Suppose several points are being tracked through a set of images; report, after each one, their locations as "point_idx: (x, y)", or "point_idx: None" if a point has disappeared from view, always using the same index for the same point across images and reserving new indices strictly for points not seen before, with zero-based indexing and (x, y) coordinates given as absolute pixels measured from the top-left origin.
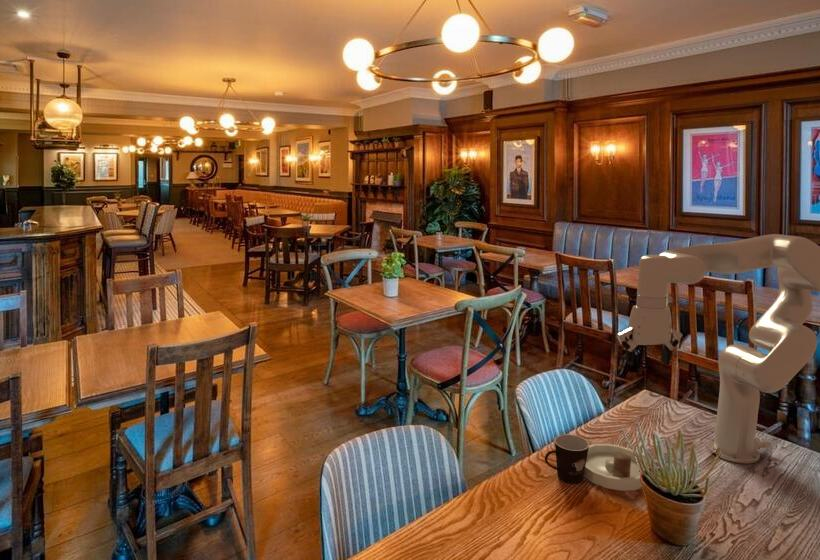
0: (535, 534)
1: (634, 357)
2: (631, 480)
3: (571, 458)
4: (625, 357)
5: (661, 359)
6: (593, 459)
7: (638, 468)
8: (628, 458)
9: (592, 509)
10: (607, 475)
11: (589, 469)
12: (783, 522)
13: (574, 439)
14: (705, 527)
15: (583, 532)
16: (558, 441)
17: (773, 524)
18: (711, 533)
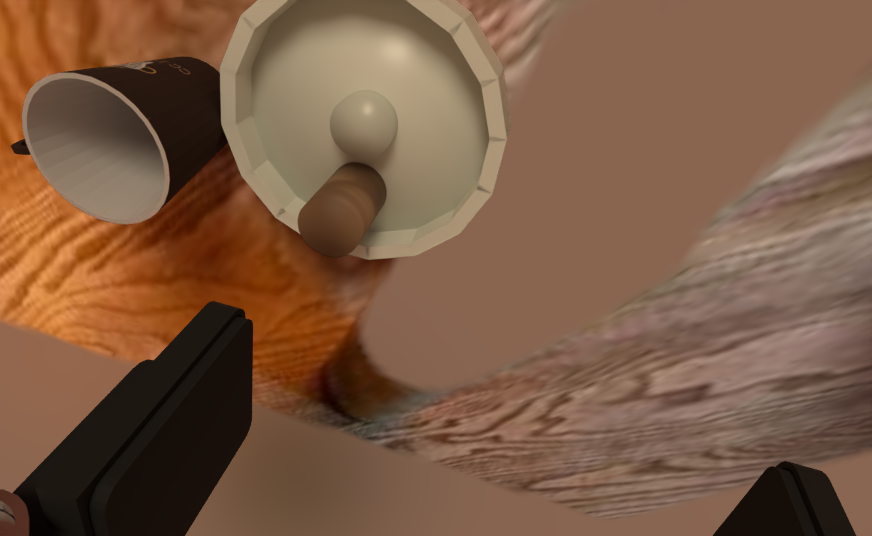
0: (50, 291)
1: (187, 530)
2: (353, 253)
3: (111, 191)
4: (122, 385)
5: (773, 499)
6: (321, 35)
7: (465, 155)
8: (347, 242)
9: (210, 266)
10: (283, 209)
11: (235, 156)
12: (667, 461)
13: (136, 96)
14: (455, 406)
15: (159, 322)
16: (62, 83)
17: (633, 455)
18: (452, 421)
